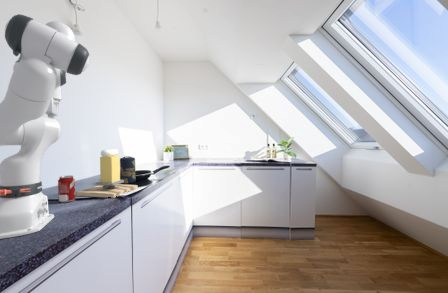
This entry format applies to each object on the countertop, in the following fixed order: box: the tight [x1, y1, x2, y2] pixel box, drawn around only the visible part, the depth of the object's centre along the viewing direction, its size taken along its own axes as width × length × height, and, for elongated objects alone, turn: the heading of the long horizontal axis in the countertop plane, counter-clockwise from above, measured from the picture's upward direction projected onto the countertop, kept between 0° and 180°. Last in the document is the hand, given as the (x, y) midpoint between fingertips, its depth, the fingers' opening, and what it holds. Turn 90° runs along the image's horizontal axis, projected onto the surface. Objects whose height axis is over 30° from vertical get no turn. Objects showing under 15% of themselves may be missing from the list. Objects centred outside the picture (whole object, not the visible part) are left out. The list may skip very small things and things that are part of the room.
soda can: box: [57, 175, 76, 204], centre depth 113 cm, size 7×7×12 cm
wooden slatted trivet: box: [75, 183, 139, 199], centre depth 132 cm, size 22×22×4 cm
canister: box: [120, 155, 137, 184], centre depth 158 cm, size 10×10×18 cm
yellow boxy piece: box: [95, 148, 124, 186], centre depth 132 cm, size 10×10×19 cm
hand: (51, 124), depth 115 cm, fingers closed
